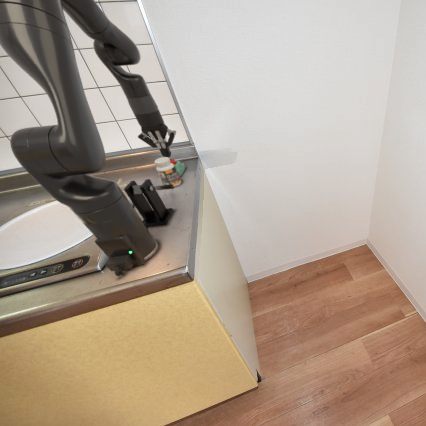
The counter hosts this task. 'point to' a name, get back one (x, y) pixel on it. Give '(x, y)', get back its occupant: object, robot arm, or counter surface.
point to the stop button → (172, 161)
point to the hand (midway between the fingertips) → (168, 156)
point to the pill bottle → (167, 171)
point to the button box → (179, 167)
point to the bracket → (150, 215)
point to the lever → (138, 191)
